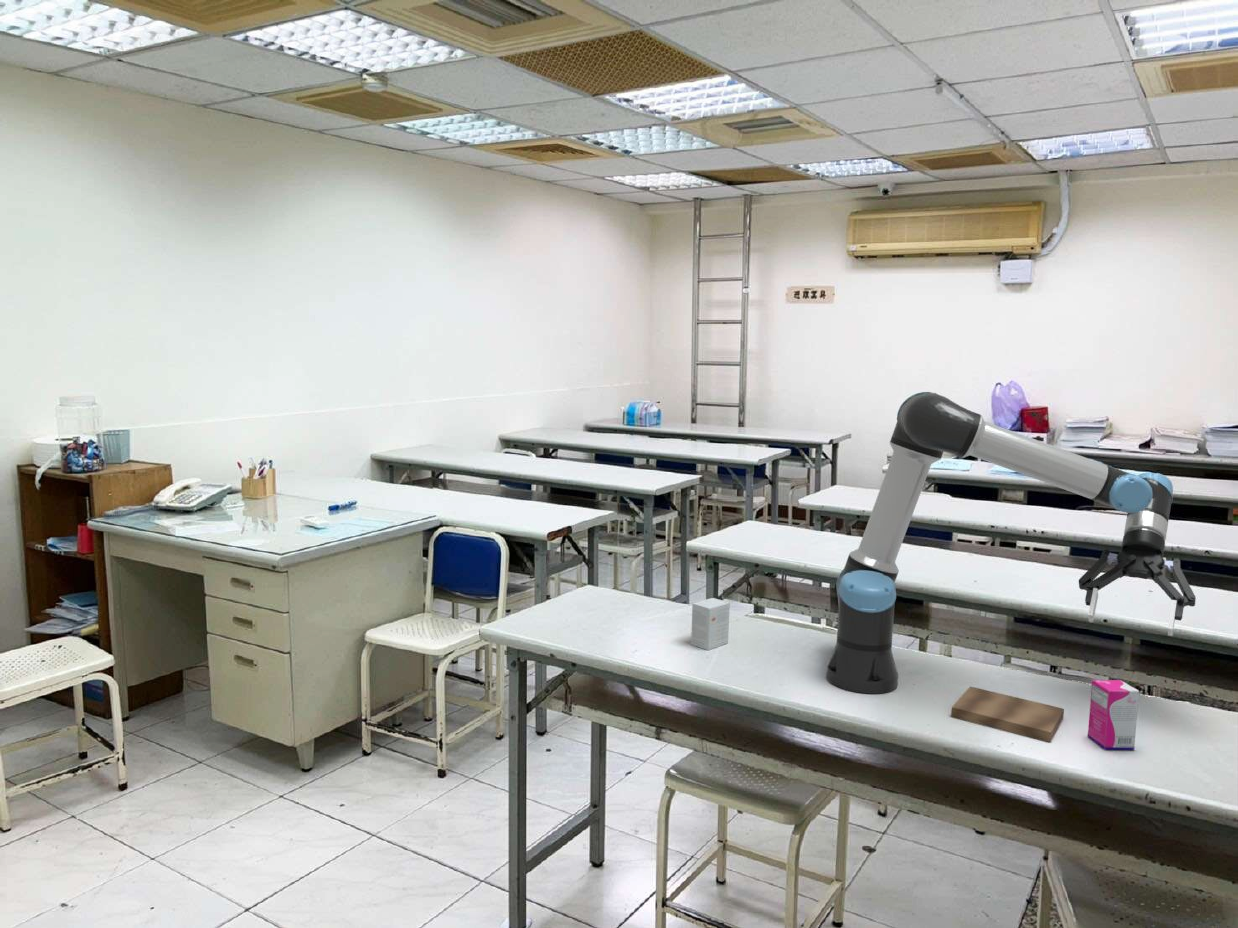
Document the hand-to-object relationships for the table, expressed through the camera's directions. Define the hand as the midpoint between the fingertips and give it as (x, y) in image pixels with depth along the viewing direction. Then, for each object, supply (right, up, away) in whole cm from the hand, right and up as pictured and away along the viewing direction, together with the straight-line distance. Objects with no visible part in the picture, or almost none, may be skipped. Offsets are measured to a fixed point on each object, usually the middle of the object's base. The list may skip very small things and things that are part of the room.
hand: (1129, 625), depth 169 cm
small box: (-78, -13, +41) cm, 90 cm away
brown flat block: (-23, -19, +2) cm, 30 cm away
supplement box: (-8, -21, -8) cm, 24 cm away
